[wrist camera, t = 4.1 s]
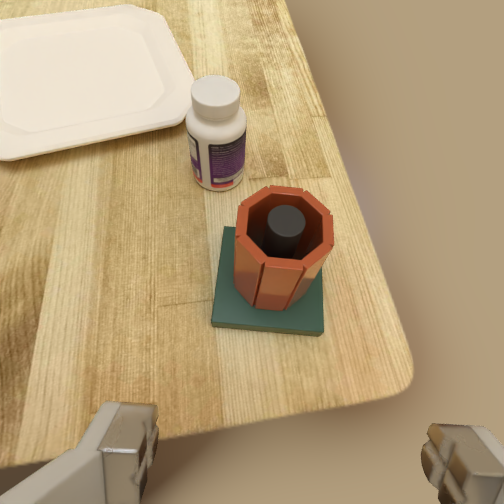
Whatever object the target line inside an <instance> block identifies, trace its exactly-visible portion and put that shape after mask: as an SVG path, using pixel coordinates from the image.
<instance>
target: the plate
mask: <svg viewBox="0 0 504 504" xmlns="http://www.w3.org/2000/svg"><path fill="white" fill-rule="evenodd" d="M194 82H195V79H194V77H193V75H192V73H191V71H190V69H189V67H188V65H187V63H186V61H185V59H184V57H183V55H182V53H181V51H180V49H179V47H178V44H177V42H176V40H175V38H174V36H173V34H172V32H171V30H170V28H169V26H168V24H167V22H166V20H165V18H164V17H163V16H162V15H161V14H159V13H156V12H153V11H150V10H147V9H144V8H141V7H137V6H134V5H130V4H124V5H116V6H108V7H99V8H91V9H83V10H75V11H67V12H59V13H51V14H42V15H34V16H26V17H18V18H10V19H2V20H0V160H1V161H15V160H19V159H24V158H28V157H33V156H38V155H42V154H47V153H52V152H56V151H61V150H65V149H70V148H75V147H79V146H84V145H89V144H93V143H98V142H103V141H107V140H112V139H116V138H121V137H126V136H130V135H135V134H140V133H144V132H149V131H154V130H158V129H163V128H168V127H172V126H176V125H178V124H180V123H181V122H182V121H183V120H184V119H185V117H186V114H187V111H188V109H189V108H190V107H191V105H192V100H191V86H192V84H193V83H194Z"/></svg>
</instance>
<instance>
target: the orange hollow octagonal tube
mask: <svg viewBox="0 0 504 504" xmlns="http://www.w3.org/2000/svg"><path fill="white" fill-rule="evenodd" d="M280 205H290V206H293V207H295V208H297V209H298V210H300V211H301V212H302V214H303V215H304V218H305V222H306V223H305V228H304V230H303V233H302V235H301V238H300V241H299V243H298V246H297V248H296V251H295V253H294V256H293V258H292V259H284V258H274V257H267V256H266V255H265V254H264V252H263V251H262V250H261V248H262V243H263V238H264V233H265V228H266V223H267V218H268V214H269V213H270V211H271V210H272V209H273V208H275V207H277V206H280ZM333 246H334V231H333V215H330V211H329V210H328V209H327V208H326V207H325V206H324V205H323V204H322V203H321V202H319V201H318V200H317V199H316V198H315V197H314V196H313V195H312V194H310V193H309V192H308V191H307V190H306V191H305V192H303V189H302V188H293V187H284V186H274V185H270V187H269V188H268V187H267V186H265V187H264V188H262V189H261V190H259V191H258V192H256V193H255V194H253V195H252V196H250V197H248V198H247V199H245V200H244V201H242V202H241V206H240V205H239V206H238V214H237V222H236V231H235V249H234V274H233V284H234V287H235V288H236V289H237V291H238V292H239V293H240V294H241V295H242V296H243V297H244V299H245V300H246V301H247V302H248V303H249V304H250V305H251V307H253V306H254V305H255V309H265V310H276V311H283V309H285V310H287V309H288V308H289V307H290V306H291V305H293V304H294V303H295V302H296V301H297V300H298V299H300V298H301V297H302V296H303V295H304V294H305V293H306V291H307V290H308V288H309V286H310V285H311V283H312V281H313V280H314V278H315V276H316V275H317V273H318V272H319V270H320V268H321V267H322V265H323V263H324V262H325V260H326V258H327V257H328V255H329V253H330V252H331V250H332V248H333Z"/></svg>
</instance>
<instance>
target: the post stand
mask: <svg viewBox="0 0 504 504" xmlns="http://www.w3.org/2000/svg"><path fill="white" fill-rule="evenodd" d="M305 223H306V222H305V218H304V215H303V214H302V212H301V211H300V210H298V209H297V208H295V207H293V206H290V205H280V206H277V207H275V208H273V209H272V210H271V211H270V213H269V214H268V218H267V223H266V228H265V233H264V238H263V243H262V248H261V250H262V251H263V252H264V254H265V255H266V256H267V257H274V258H284V259H292V258H293V256H294V253H295V251H296V248H297V246H298V243H299V241H300V238H301V235H302V233H303V230H304V228H305ZM235 231H236V227H229V226H224V231H223V239H222V246H221V253H220V260H219V268H218V275H217V282H216V289H215V297H214V304H213V311H212V318H211V323H212V327H222V328H232V329H243V330H254V331H265V332H276V333H286V334H297V335H308V336H320V335H321V334H322V333H323V332H324V319H323V287H322V267H321V268H320V270H319V272H318V273H317V275H316V276H315V278H314V280H313V281H312V283H311V285H310V286H309V288H308V290H307V291H306V293H305V294H304V295H303V296H302V297H301V298H300V299H298V300H297V301H296V302H295V303H294V304H293V305H291V306H290V307H289V308H288V309H287V310H285V309H283V311H276V310H265V309H255V305H254V306H253V307H251V305H250V304H249V303H248V302H247V301H246V300H245V299H244V297H243V296H242V295H241V294H240V293H239V292H238V291H237V289H236V288H235V287H234V284H233V274H234V249H235Z"/></svg>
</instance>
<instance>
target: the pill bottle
mask: <svg viewBox="0 0 504 504" xmlns="http://www.w3.org/2000/svg"><path fill="white" fill-rule="evenodd" d="M191 100H192V105H191V107H190V108H189V109H188V111H187V114H186V129H187V136H188V142H189V149H190V156H191V163H192V170H193V174H194V177H195V179H196V181H197V182H198V183H199V184H200V185H201V186H202V187H204V188H206V189H209V190H212V191H225V190H229V189H231V188H233V187H235V186H236V185H237V184H238V183H239V182H240V181H241V179H242V177H243V174H244V161H245V142H246V125H247V120H246V115H245V112H244V110H243V109H242V107H241V106H240V88H239V86H238V84H237V83H236V82H235V81H234V80H232V79H230V78H228V77H225V76H221V75H208V76H203V77H201V78H199V79H197V80H196V81H195V82H194V83H193V84H192V86H191Z"/></svg>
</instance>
